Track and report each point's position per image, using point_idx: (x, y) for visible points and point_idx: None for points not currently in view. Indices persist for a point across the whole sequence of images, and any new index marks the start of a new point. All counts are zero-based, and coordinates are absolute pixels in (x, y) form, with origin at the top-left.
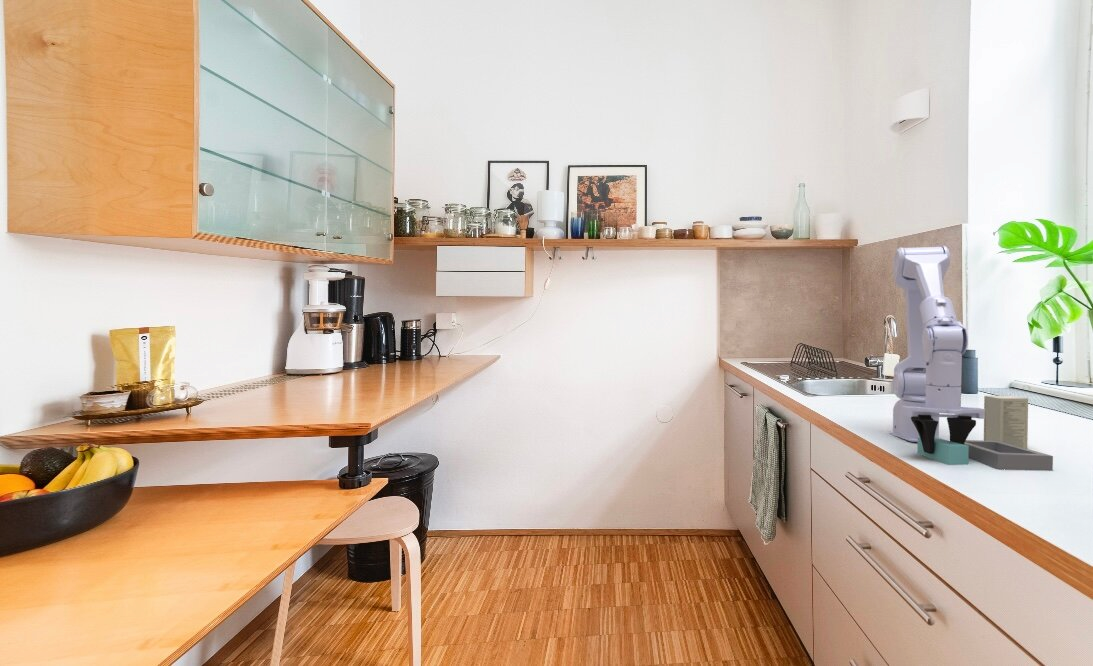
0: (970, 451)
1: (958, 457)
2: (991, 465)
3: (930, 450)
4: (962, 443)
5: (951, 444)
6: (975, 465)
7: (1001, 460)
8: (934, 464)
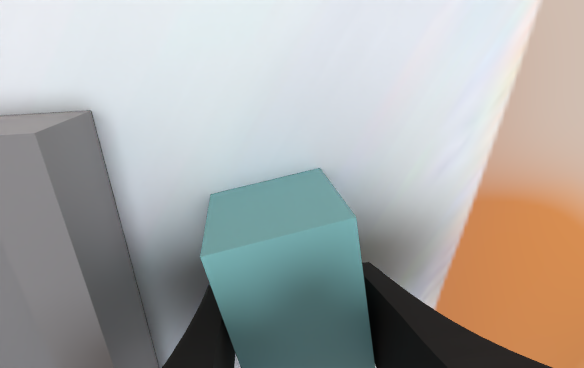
0: (127, 340)
1: (271, 198)
2: (97, 166)
3: (378, 269)
4: (200, 326)
5: (305, 270)
6: (166, 207)
7: (33, 122)
8: (376, 178)
